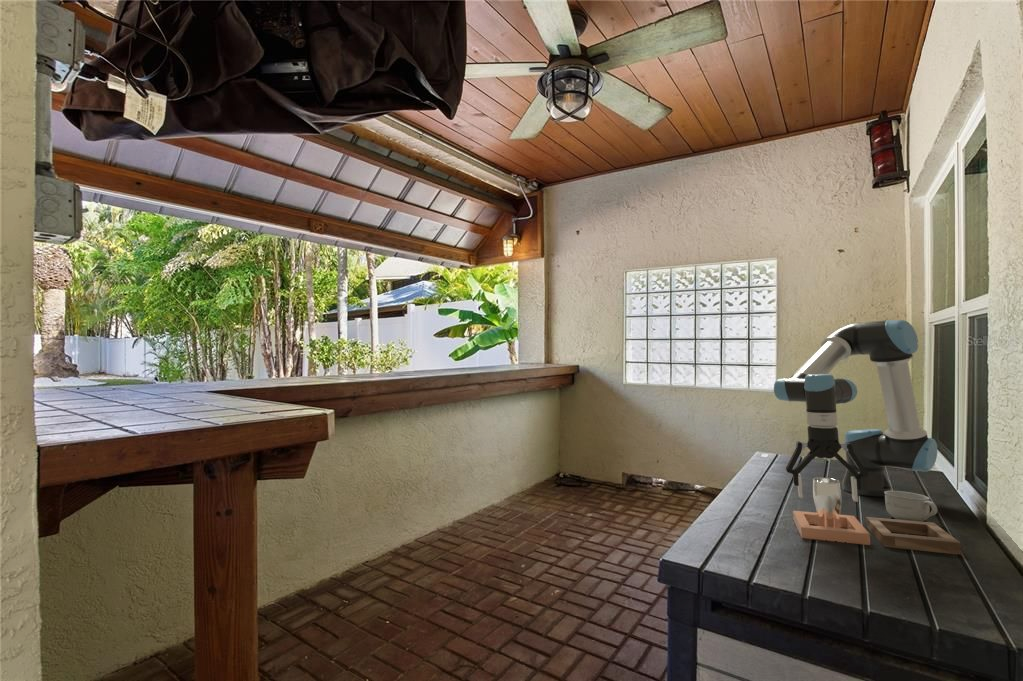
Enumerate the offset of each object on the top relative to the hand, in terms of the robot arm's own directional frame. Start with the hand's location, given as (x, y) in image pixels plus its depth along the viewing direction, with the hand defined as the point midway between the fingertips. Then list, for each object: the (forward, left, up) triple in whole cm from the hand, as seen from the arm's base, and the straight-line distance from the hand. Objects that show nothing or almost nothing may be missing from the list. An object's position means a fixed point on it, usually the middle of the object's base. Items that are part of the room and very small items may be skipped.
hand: (827, 498), depth 137 cm
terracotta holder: (0, 0, -10) cm, 10 cm away
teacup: (-18, +25, -10) cm, 32 cm away
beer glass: (0, 0, -10) cm, 10 cm away
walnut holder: (0, +19, -10) cm, 21 cm away
